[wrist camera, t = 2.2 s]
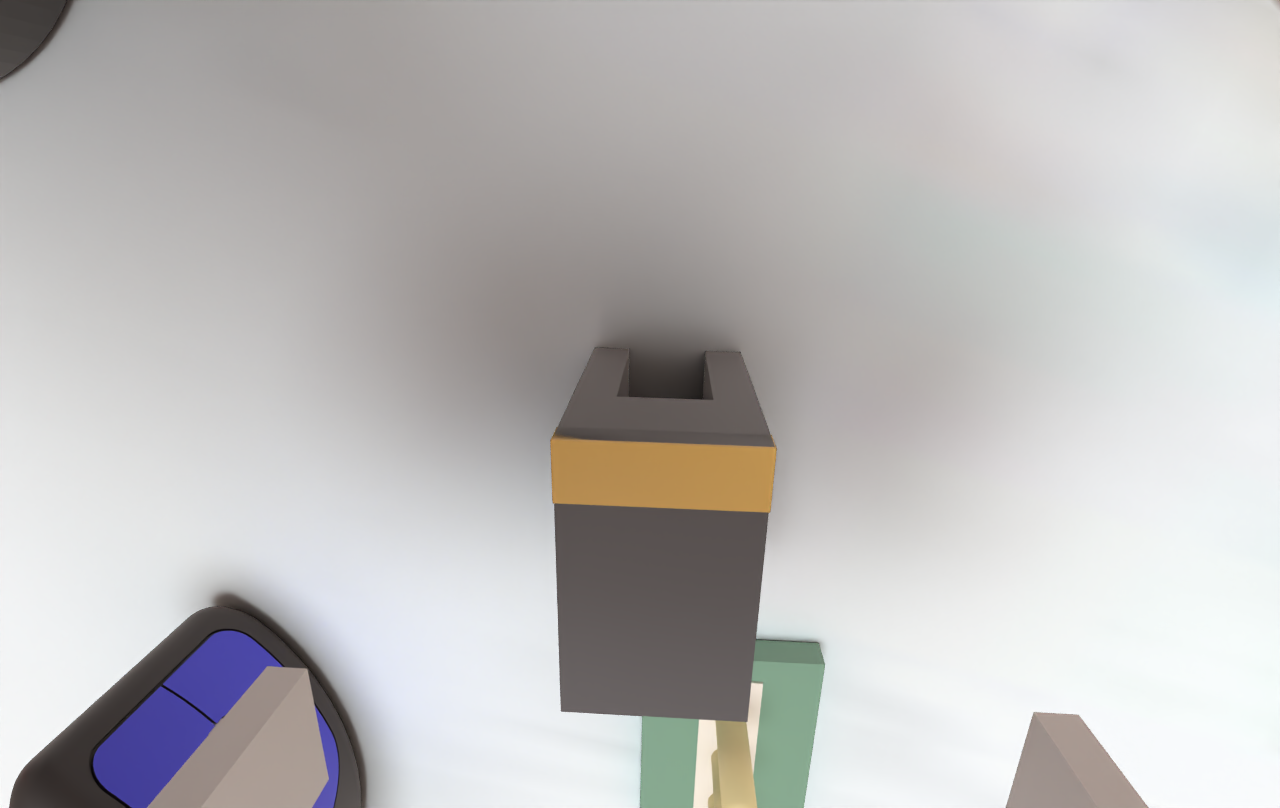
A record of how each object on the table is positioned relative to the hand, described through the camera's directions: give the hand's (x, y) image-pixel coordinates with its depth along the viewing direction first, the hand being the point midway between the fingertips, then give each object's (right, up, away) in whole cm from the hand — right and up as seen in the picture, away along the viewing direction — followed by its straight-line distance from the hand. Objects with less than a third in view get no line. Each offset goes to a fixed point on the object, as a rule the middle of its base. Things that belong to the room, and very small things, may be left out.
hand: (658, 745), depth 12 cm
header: (+3, -8, +16) cm, 18 cm away
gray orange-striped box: (+1, +4, +11) cm, 12 cm away
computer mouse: (-17, -9, +17) cm, 26 cm away
